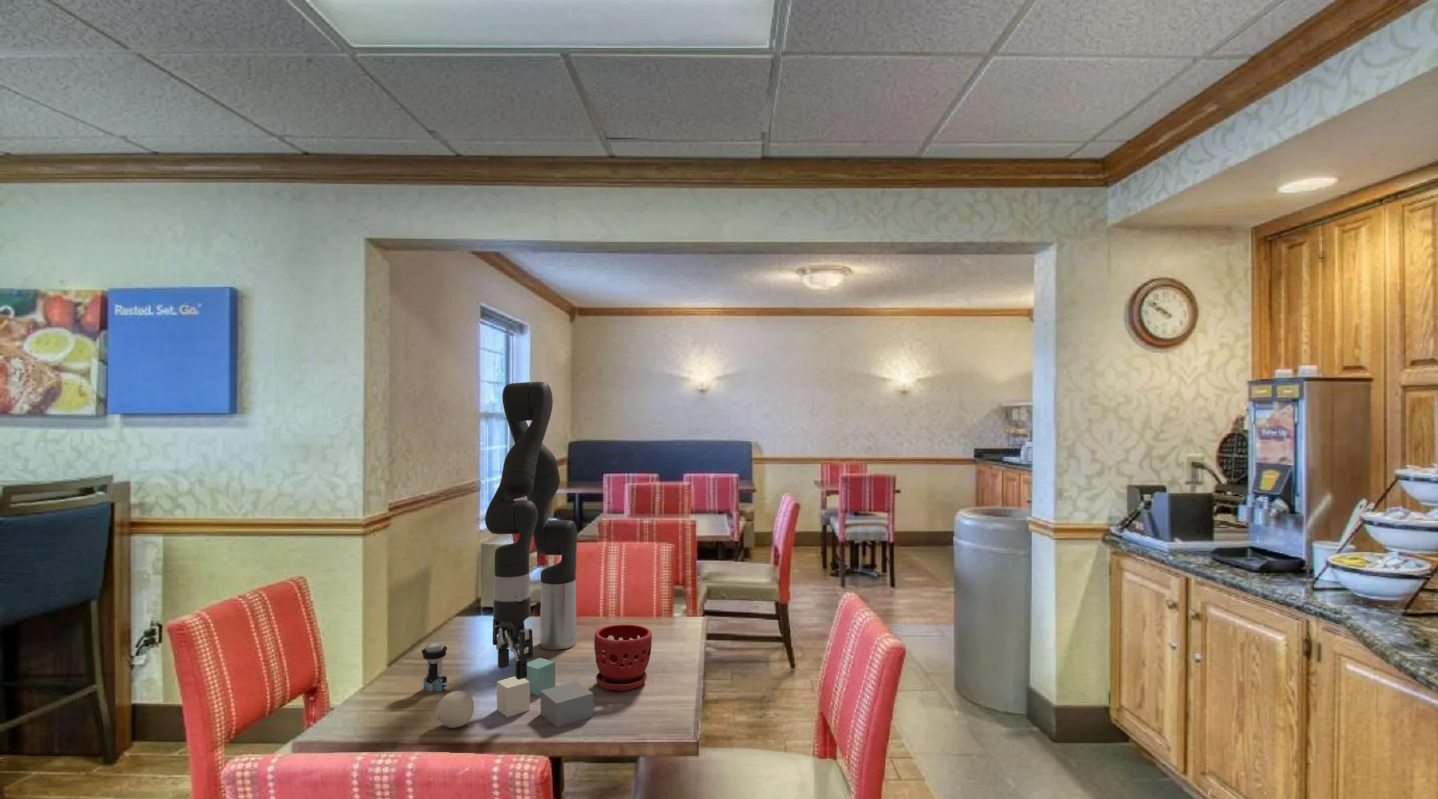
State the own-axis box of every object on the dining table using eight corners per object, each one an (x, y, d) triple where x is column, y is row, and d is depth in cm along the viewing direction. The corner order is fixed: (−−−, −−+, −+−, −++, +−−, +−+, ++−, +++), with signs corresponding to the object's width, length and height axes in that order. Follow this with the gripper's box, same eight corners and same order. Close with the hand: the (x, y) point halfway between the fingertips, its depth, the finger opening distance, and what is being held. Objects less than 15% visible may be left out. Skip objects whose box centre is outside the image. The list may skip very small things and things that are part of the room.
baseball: (438, 720, 142) (438, 687, 142) (475, 716, 144) (475, 684, 144) (432, 735, 136) (432, 701, 136) (471, 731, 137) (471, 697, 137)
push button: (457, 686, 160) (456, 642, 160) (441, 695, 155) (441, 650, 155) (432, 683, 162) (432, 640, 162) (416, 692, 157) (416, 647, 157)
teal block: (523, 691, 157) (522, 664, 157) (540, 683, 161) (539, 657, 161) (538, 696, 154) (538, 668, 154) (555, 688, 158) (555, 661, 158)
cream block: (497, 709, 147) (496, 681, 147) (519, 703, 151) (519, 675, 151) (507, 717, 144) (507, 688, 144) (529, 710, 147) (529, 681, 147)
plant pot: (627, 699, 152) (627, 644, 152) (582, 687, 159) (582, 634, 159) (663, 679, 163) (662, 627, 163) (619, 668, 170) (619, 619, 170)
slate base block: (540, 715, 145) (540, 690, 145) (575, 704, 150) (575, 681, 150) (557, 728, 139) (556, 703, 139) (593, 717, 143) (593, 693, 144)
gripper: (481, 592, 150) (481, 668, 150) (510, 605, 139) (510, 687, 139) (514, 586, 155) (514, 660, 155) (544, 598, 144) (544, 677, 144)
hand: (512, 672), depth 147 cm, fingers open, 8 cm apart
